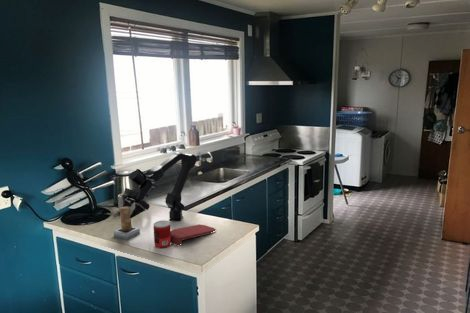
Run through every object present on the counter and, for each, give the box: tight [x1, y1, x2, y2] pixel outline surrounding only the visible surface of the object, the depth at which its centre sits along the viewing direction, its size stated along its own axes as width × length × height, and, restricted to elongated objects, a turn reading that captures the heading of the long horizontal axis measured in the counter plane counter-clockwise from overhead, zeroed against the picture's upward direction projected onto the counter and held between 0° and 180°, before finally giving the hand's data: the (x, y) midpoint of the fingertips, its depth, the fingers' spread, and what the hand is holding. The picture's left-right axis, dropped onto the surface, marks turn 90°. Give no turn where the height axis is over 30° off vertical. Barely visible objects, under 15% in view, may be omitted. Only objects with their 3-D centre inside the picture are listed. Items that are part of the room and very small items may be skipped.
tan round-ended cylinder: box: [119, 206, 133, 233], centre depth 187 cm, size 5×5×13 cm
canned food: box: [153, 220, 172, 249], centre depth 175 cm, size 8×8×11 cm
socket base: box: [113, 226, 141, 241], centre depth 188 cm, size 9×9×3 cm
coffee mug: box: [117, 192, 135, 214], centre depth 227 cm, size 13×10×10 cm
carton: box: [171, 224, 217, 246], centre depth 187 cm, size 12×5×25 cm
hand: (125, 215), depth 187 cm, fingers open, 9 cm apart
